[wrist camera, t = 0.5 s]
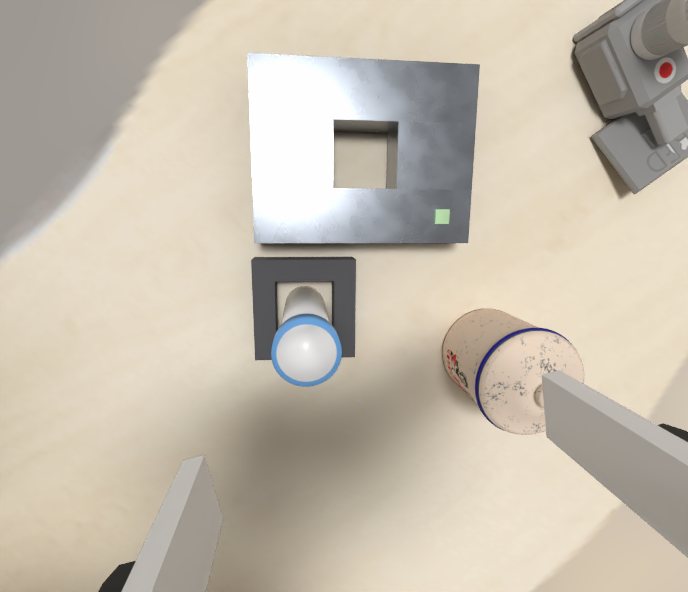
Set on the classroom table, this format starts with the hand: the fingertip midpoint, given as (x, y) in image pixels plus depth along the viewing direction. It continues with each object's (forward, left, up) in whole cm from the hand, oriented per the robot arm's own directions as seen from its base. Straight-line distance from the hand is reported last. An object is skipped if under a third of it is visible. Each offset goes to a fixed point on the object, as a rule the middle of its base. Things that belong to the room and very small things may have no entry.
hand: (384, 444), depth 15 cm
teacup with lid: (+16, -5, -23) cm, 29 cm away
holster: (-3, +1, -23) cm, 23 cm away
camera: (+27, +20, -23) cm, 41 cm away
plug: (-3, +1, -23) cm, 23 cm away
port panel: (+2, +14, -23) cm, 27 cm away
